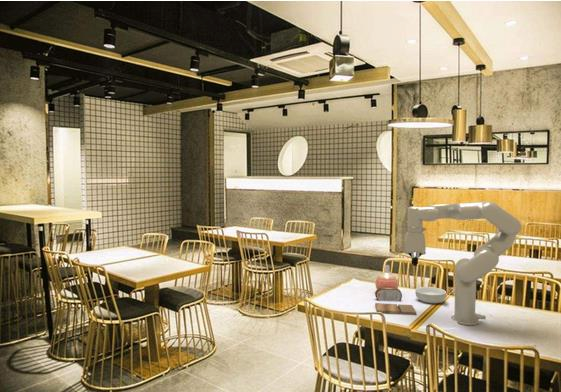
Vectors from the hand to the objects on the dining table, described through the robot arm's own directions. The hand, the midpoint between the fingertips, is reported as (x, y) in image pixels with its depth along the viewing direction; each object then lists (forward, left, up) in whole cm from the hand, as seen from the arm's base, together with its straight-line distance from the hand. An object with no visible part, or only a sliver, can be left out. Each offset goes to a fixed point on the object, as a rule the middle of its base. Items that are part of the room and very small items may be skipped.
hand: (414, 265), depth 209 cm
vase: (+9, -39, -27) cm, 48 cm away
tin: (+10, -22, -27) cm, 36 cm away
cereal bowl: (-14, -25, -27) cm, 39 cm away
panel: (+13, -4, -26) cm, 29 cm away
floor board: (+9, -4, -27) cm, 29 cm away
